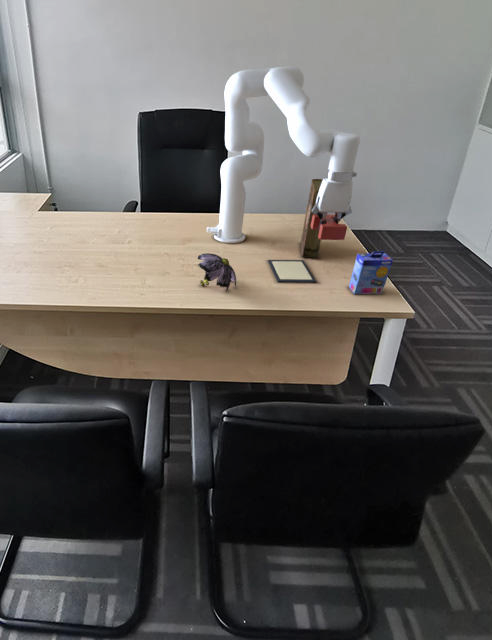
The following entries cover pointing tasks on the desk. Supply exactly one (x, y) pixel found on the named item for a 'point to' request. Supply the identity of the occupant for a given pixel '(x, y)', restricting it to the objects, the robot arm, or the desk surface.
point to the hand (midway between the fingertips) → (327, 231)
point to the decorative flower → (217, 270)
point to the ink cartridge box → (370, 273)
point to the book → (309, 235)
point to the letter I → (329, 228)
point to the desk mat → (291, 271)
